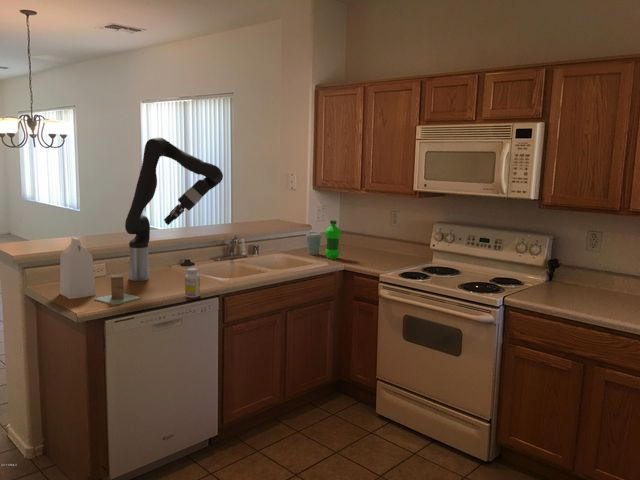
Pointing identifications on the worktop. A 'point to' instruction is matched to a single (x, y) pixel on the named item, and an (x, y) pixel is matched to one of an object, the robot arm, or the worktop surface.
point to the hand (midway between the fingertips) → (165, 222)
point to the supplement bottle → (192, 283)
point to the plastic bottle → (332, 240)
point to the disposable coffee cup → (313, 242)
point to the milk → (76, 271)
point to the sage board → (114, 302)
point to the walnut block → (117, 287)
